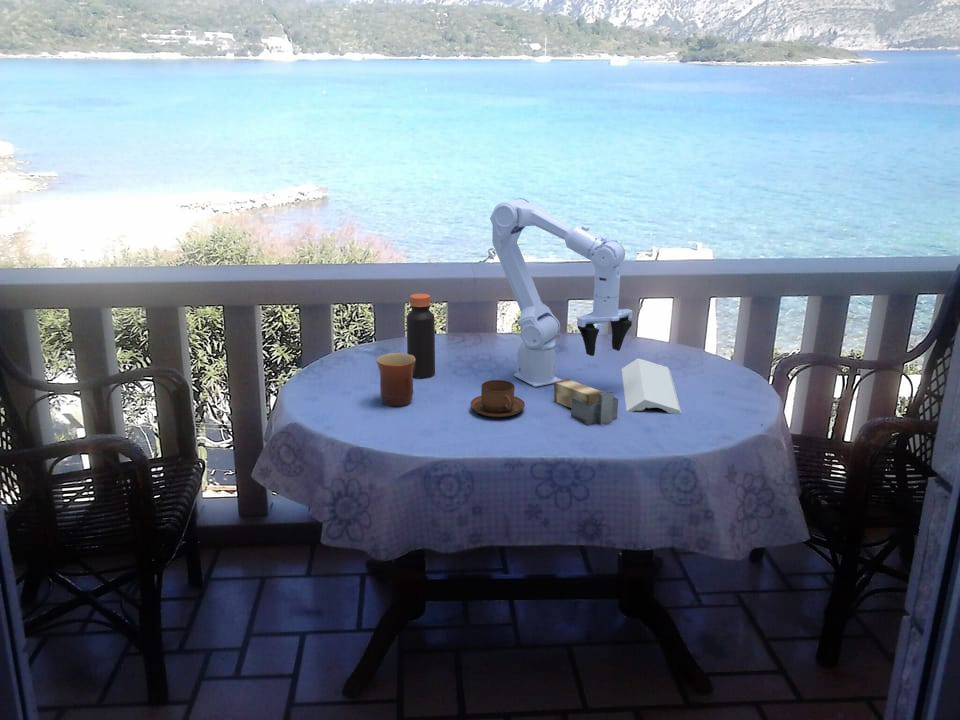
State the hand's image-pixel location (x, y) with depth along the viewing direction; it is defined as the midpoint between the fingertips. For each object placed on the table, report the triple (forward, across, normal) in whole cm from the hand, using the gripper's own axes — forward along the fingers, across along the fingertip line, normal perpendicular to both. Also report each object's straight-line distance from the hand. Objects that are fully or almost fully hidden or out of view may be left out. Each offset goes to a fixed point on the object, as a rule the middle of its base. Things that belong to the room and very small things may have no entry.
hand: (603, 352), depth 205 cm
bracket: (+10, -11, -12) cm, 19 cm away
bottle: (+10, -31, +32) cm, 46 cm away
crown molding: (+11, +11, -4) cm, 16 cm away
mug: (+10, -43, +19) cm, 48 cm away
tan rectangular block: (+9, -11, -6) cm, 16 cm away
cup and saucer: (+10, -27, +2) cm, 29 cm away
